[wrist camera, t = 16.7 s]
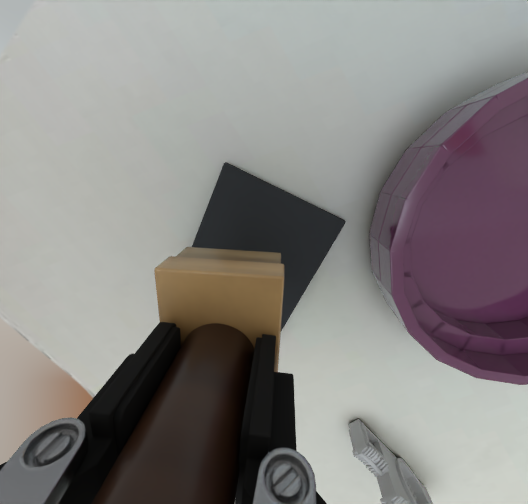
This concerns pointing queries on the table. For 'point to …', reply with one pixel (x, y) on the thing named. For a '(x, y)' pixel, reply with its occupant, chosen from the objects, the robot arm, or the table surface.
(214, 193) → the mat
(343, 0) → the table surface
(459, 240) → the bowl
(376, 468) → the lattice window wall
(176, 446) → the wooden stamp
